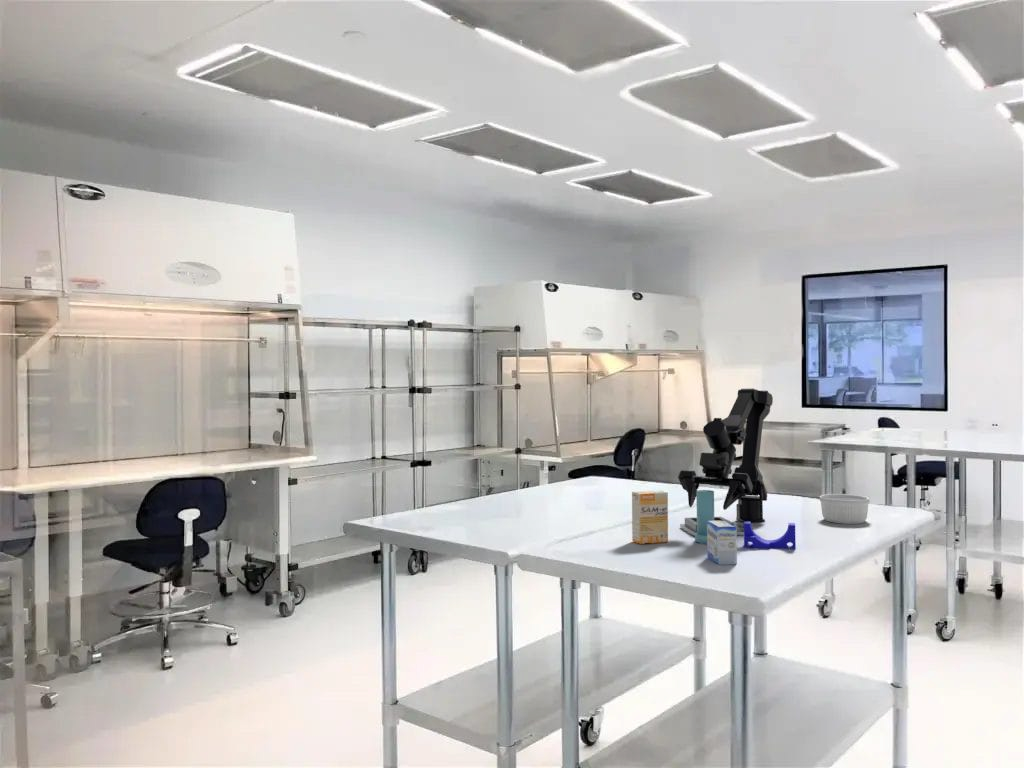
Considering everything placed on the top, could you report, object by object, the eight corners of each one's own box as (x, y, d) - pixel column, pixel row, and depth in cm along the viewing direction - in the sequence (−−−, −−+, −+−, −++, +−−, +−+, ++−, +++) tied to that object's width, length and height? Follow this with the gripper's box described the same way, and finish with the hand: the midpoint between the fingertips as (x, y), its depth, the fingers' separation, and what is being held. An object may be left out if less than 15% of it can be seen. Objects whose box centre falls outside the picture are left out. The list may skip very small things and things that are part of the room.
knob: (713, 539, 207) (712, 488, 207) (720, 543, 201) (719, 491, 201) (692, 539, 206) (691, 489, 206) (698, 544, 201) (697, 492, 201)
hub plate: (735, 525, 225) (735, 515, 225) (754, 535, 211) (753, 523, 211) (680, 527, 224) (680, 516, 224) (695, 537, 210) (694, 525, 210)
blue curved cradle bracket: (744, 548, 196) (743, 524, 195) (744, 545, 200) (744, 521, 200) (795, 551, 192) (795, 526, 192) (795, 547, 196) (794, 523, 196)
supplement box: (639, 545, 201) (638, 493, 201) (631, 541, 206) (631, 491, 206) (669, 542, 203) (668, 491, 203) (660, 539, 208) (660, 489, 208)
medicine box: (706, 557, 186) (706, 520, 186) (725, 556, 187) (724, 520, 187) (718, 565, 178) (717, 526, 178) (737, 564, 179) (736, 526, 179)
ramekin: (856, 516, 236) (856, 493, 236) (878, 524, 223) (878, 499, 223) (812, 517, 235) (812, 494, 235) (832, 525, 222) (831, 501, 222)
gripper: (680, 440, 214) (663, 485, 205) (748, 442, 203) (734, 490, 194) (691, 466, 221) (676, 511, 211) (758, 470, 210) (745, 517, 201)
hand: (706, 507), depth 204 cm, fingers open, 9 cm apart
